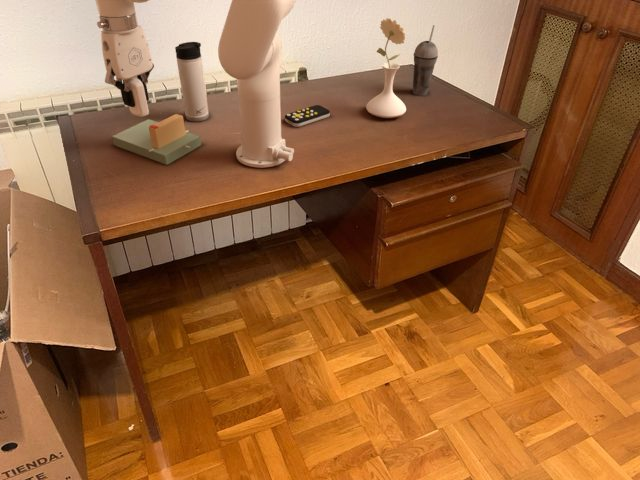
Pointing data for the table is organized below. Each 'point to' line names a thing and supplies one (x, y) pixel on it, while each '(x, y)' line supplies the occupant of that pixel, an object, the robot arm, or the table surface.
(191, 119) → the travel mug
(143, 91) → the eye dropper bottle
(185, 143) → the green flat block
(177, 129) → the orange block
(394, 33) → the flower in vase
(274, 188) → the table surface
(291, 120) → the remote control
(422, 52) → the beverage cup
